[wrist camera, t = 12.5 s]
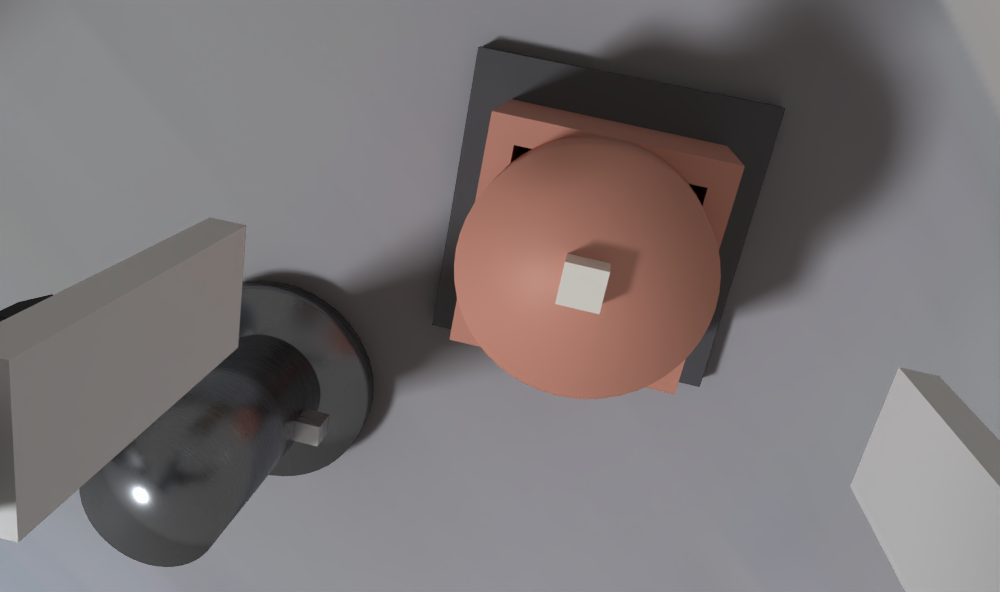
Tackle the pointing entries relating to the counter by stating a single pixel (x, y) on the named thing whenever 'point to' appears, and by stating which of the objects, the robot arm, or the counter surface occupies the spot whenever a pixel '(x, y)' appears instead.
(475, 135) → the dark grey square plate
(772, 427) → the counter surface
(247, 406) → the post
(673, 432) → the counter surface
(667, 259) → the cap
